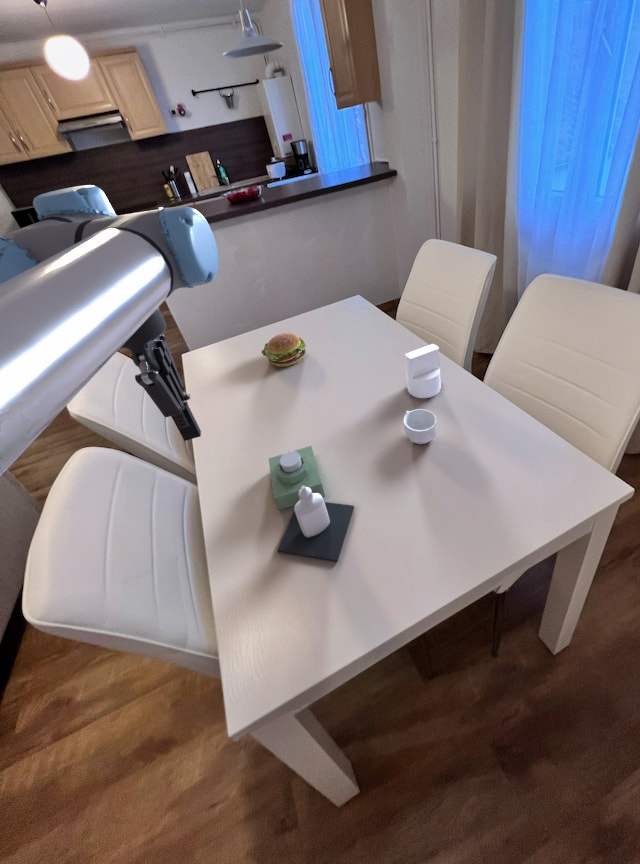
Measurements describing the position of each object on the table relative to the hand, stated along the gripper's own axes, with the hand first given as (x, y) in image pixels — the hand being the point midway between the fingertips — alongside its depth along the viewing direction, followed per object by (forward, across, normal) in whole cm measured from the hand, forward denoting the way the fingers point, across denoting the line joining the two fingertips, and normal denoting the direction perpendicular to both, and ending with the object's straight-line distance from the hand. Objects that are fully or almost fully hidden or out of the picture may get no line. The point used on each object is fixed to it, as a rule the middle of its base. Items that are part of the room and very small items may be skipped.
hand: (192, 435), depth 69 cm
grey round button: (+19, -5, +14) cm, 24 cm away
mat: (+24, +8, +16) cm, 30 cm away
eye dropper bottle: (+24, +8, +16) cm, 30 cm away
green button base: (+24, -6, +14) cm, 29 cm away
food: (+25, -60, +18) cm, 68 cm away
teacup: (+25, -9, +44) cm, 51 cm away
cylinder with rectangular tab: (+25, -25, +52) cm, 63 cm away
